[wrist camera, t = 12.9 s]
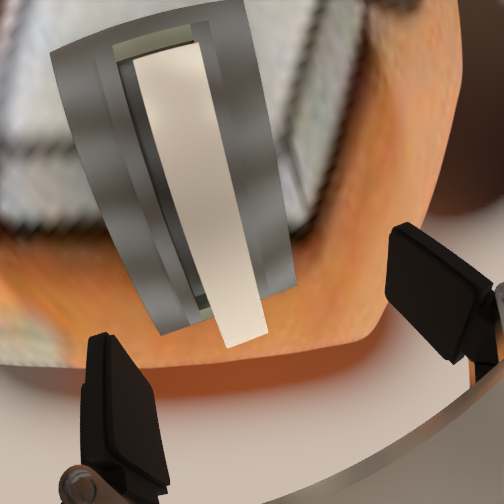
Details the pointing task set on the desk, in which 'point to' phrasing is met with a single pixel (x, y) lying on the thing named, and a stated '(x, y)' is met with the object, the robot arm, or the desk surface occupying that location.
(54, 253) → the desk surface
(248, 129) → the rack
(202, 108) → the clay strip
